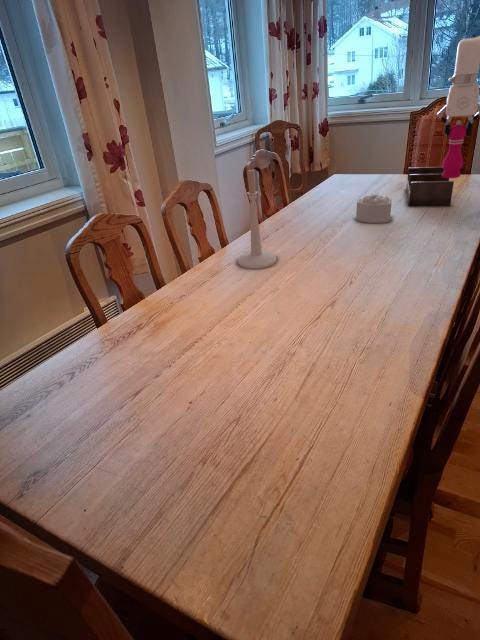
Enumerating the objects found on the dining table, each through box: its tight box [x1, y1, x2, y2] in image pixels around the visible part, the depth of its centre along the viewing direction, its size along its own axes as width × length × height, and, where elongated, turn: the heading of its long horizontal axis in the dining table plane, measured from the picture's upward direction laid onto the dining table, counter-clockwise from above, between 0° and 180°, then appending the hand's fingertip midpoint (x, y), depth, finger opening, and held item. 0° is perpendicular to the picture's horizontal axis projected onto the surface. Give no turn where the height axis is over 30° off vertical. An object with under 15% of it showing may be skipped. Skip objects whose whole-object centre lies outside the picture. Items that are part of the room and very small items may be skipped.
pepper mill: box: [441, 119, 467, 179], centre depth 161 cm, size 7×7×20 cm
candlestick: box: [237, 169, 277, 270], centre depth 137 cm, size 13×13×30 cm
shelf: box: [405, 166, 455, 207], centre depth 188 cm, size 16×28×10 cm, turn 163°
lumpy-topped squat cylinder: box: [355, 193, 392, 224], centre depth 169 cm, size 10×13×9 cm
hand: (456, 134), depth 159 cm, fingers closed on pepper mill, 6 cm apart
